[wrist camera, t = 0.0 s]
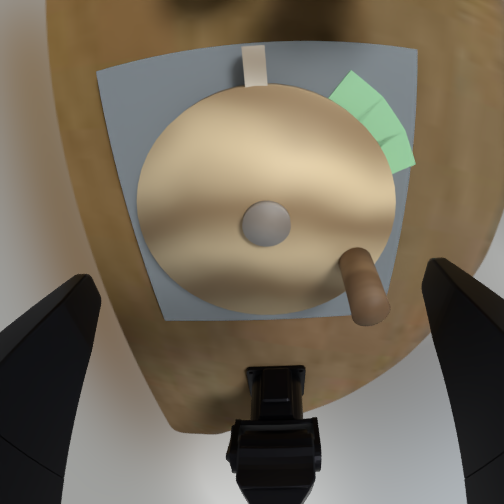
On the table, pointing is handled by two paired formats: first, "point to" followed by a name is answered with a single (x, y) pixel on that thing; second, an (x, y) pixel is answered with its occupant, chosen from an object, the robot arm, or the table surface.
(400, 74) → the plate
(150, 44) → the table surface
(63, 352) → the robot arm
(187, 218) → the dial
